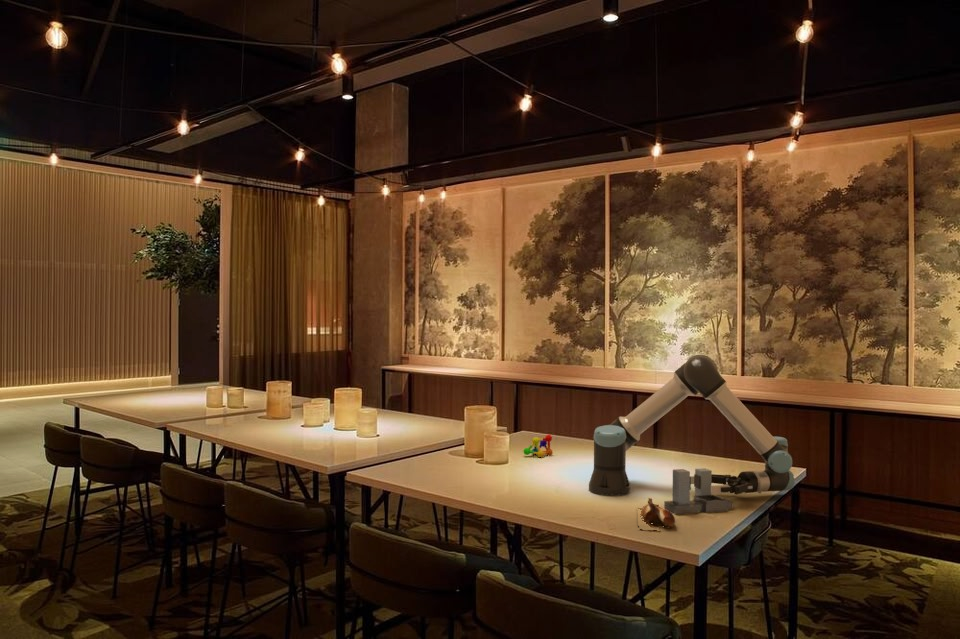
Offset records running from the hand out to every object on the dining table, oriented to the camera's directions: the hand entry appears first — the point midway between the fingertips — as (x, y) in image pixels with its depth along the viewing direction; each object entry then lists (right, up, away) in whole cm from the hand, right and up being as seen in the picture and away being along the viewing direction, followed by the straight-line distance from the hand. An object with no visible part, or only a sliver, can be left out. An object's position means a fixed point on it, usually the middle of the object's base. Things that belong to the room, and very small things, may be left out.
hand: (700, 484), depth 241 cm
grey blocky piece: (-4, -6, -10) cm, 12 cm away
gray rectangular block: (+1, -6, +1) cm, 6 cm away
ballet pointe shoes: (-21, -7, -22) cm, 31 cm away
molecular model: (-50, -5, +76) cm, 92 cm away
